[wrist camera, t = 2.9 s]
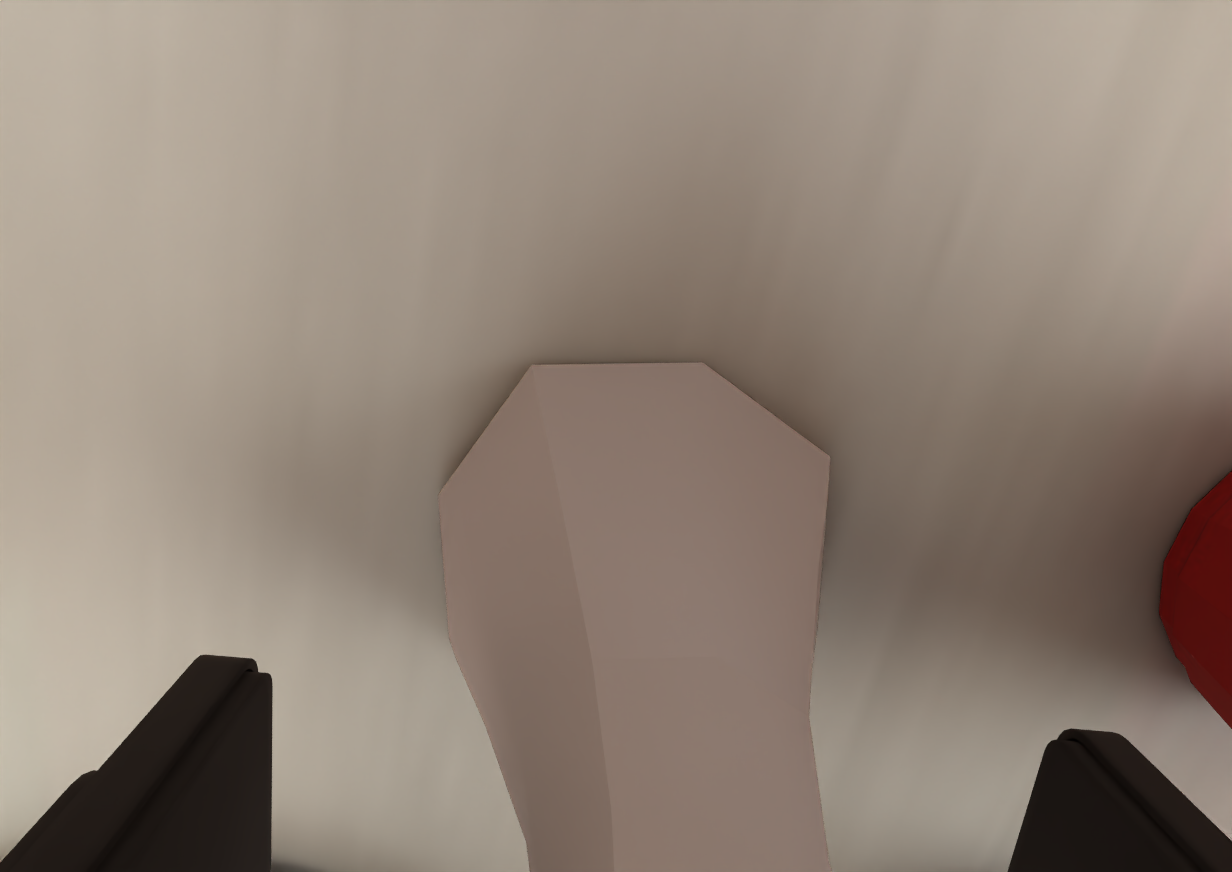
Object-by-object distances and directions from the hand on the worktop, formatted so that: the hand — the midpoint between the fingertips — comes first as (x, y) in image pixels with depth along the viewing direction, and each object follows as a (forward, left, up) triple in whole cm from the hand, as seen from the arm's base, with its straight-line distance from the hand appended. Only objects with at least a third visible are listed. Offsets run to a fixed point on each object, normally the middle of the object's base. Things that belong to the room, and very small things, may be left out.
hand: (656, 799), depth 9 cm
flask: (-1, 0, -6) cm, 6 cm away
